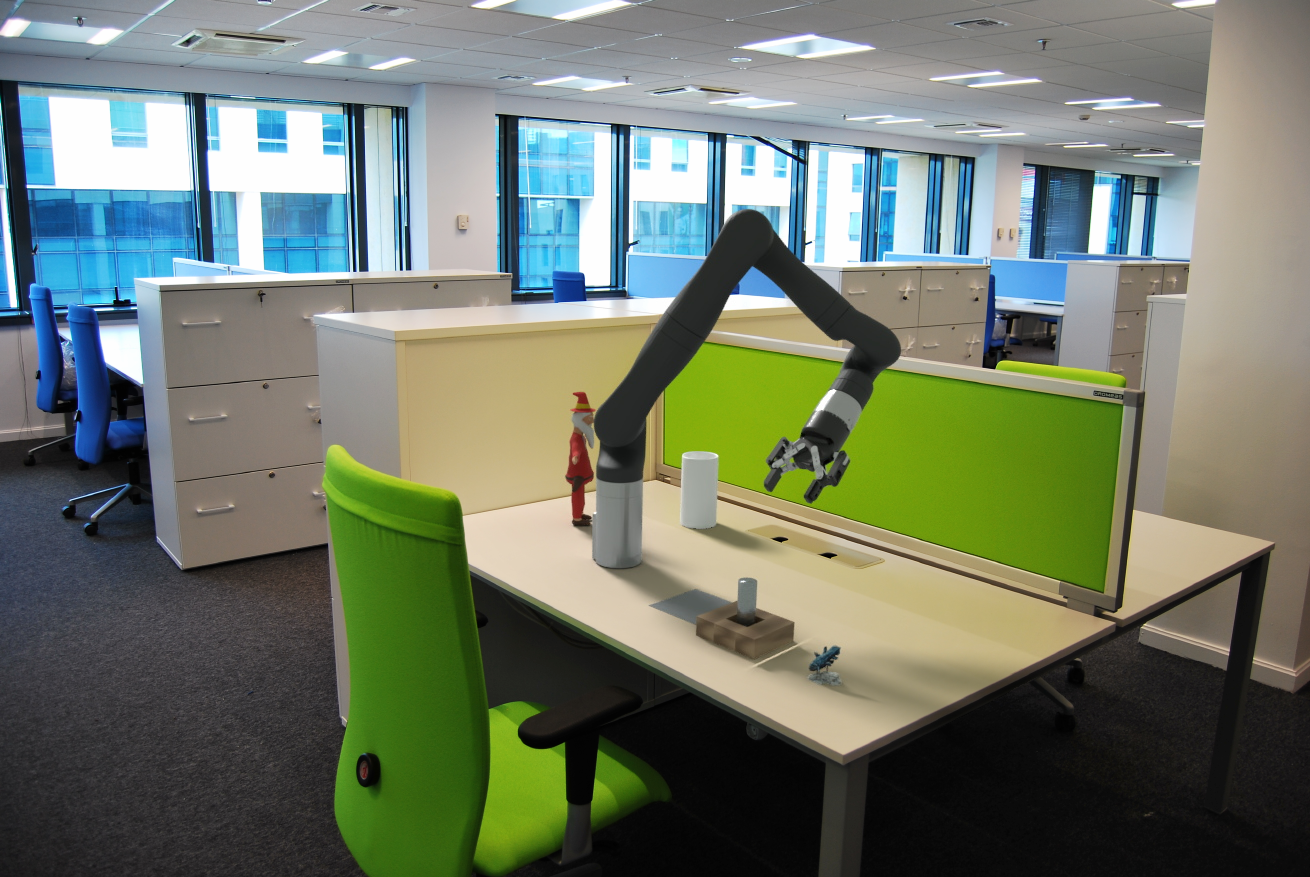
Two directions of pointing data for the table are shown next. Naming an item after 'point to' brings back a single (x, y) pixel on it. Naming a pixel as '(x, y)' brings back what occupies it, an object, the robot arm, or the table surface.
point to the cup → (699, 489)
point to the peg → (746, 601)
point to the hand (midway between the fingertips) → (786, 494)
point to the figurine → (580, 457)
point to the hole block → (745, 631)
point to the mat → (690, 605)
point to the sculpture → (821, 663)
